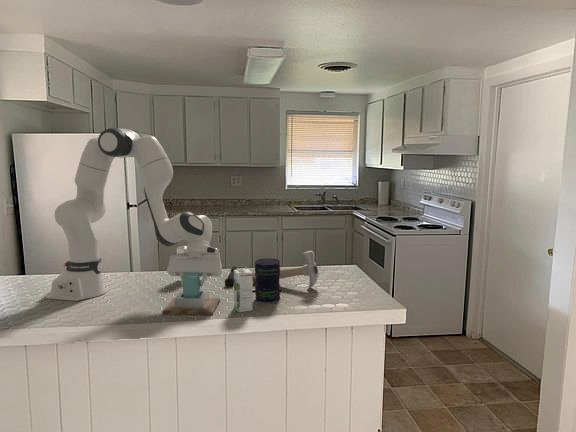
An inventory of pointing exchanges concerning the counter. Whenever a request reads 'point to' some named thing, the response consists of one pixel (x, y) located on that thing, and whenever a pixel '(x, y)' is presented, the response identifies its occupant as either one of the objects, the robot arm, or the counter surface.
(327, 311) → the counter surface
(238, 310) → the syrup box
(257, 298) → the storage jar
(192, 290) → the teal peg
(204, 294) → the socket
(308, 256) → the hammer
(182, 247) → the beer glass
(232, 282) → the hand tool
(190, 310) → the walnut board
